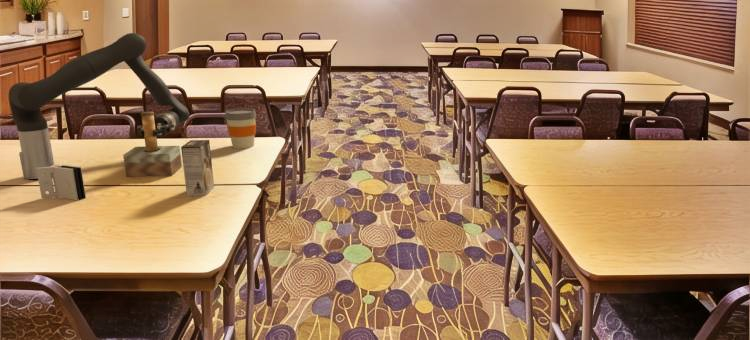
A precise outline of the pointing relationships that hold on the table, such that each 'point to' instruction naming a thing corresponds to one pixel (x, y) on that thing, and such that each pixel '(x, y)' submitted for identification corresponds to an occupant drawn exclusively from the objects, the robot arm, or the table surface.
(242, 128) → the reusable coffee cup
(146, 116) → the key peg
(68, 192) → the hinge
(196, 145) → the coffee box
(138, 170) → the square hole block
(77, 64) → the robot arm
